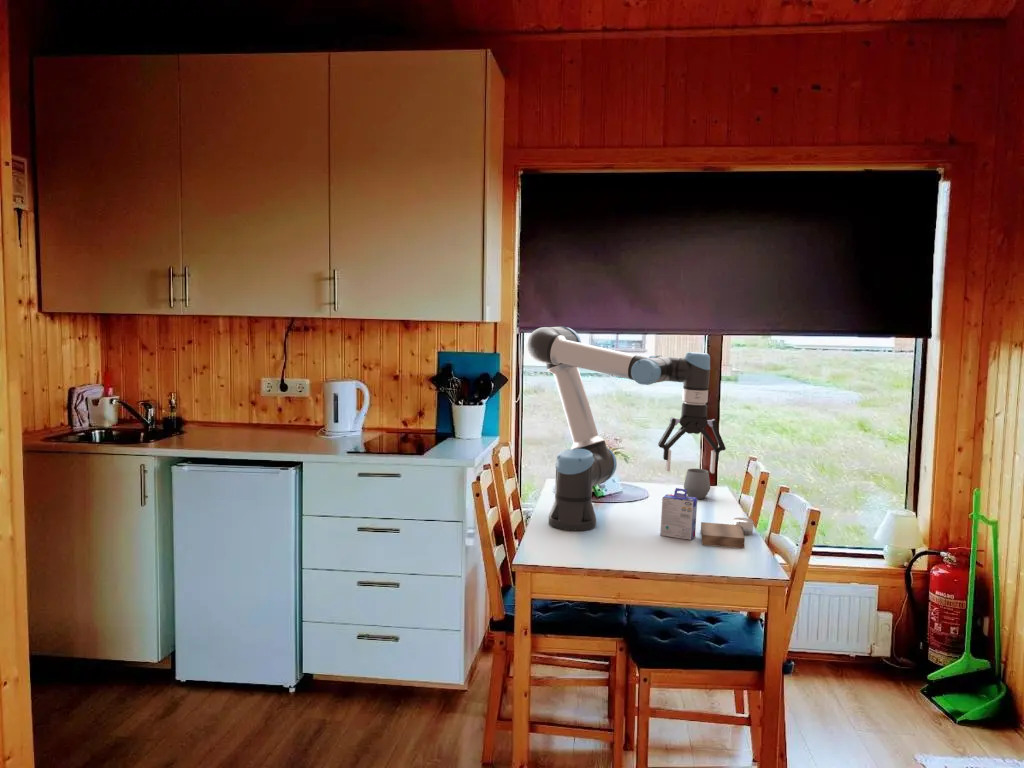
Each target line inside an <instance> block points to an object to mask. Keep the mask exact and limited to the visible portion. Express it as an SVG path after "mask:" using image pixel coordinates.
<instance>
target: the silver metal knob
mask: <svg viewBox="0 0 1024 768" xmlns="http://www.w3.org/2000/svg"><path fill="white" fill-rule="evenodd" d="M732 525H741V528H742V531H743V534H744V536H751V535H753V532H754V520H753V519H752V518H747V517H734V518H733V523H732Z"/></svg>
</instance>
